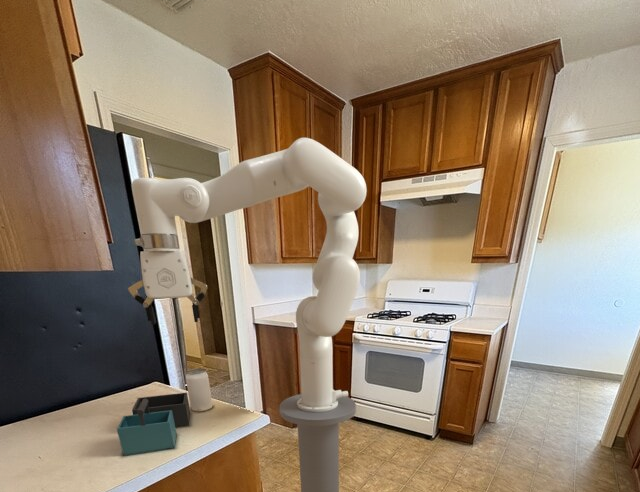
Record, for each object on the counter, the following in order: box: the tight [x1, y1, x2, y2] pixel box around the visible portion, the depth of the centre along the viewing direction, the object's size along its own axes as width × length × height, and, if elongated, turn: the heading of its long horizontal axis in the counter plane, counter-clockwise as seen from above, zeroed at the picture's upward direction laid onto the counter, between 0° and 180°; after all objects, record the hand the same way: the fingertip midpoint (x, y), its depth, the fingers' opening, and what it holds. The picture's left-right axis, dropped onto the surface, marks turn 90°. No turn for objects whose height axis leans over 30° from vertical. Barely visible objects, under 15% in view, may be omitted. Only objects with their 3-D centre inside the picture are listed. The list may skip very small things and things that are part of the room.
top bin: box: [116, 399, 178, 457], centre depth 86 cm, size 11×8×11 cm
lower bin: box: [131, 392, 191, 429], centre depth 100 cm, size 13×10×7 cm
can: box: [185, 368, 213, 413], centre depth 108 cm, size 6×6×12 cm
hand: (175, 322), depth 86 cm, fingers open, 9 cm apart
